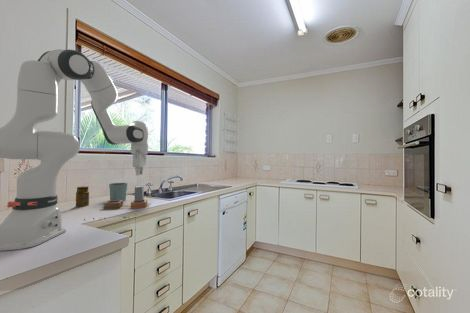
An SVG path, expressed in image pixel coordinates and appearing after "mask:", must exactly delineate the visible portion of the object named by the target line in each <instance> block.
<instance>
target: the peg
mask: <svg viewBox="0 0 470 313" xmlns="http://www.w3.org/2000/svg"><path fill="white" fill-rule="evenodd" d="M144 188H145V187H144V185H136V186H135V187H134V200H135V202H143V199H144V198H145V197H144V195H145V194H144V193H145V192H144V191H145V190H144Z"/></svg>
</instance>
